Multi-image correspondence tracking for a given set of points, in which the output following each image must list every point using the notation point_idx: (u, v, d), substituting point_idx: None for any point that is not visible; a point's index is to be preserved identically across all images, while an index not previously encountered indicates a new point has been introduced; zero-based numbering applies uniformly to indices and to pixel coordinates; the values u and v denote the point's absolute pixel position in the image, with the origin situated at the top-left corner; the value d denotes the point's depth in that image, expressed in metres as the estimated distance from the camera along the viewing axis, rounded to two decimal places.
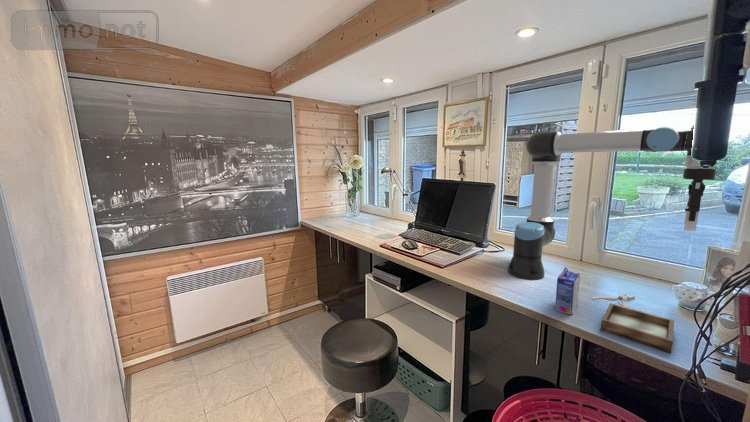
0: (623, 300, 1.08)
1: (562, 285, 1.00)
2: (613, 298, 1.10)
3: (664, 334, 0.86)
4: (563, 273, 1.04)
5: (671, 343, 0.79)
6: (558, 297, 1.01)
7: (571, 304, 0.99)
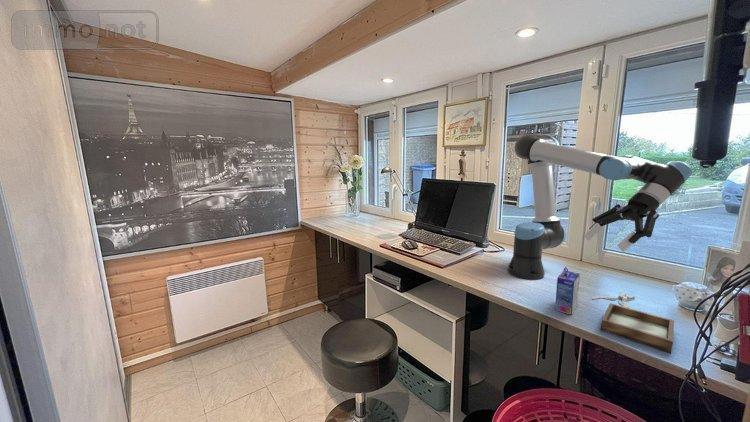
0: (623, 300, 1.08)
1: (562, 285, 1.00)
2: (613, 298, 1.10)
3: (664, 334, 0.86)
4: (563, 273, 1.04)
5: (671, 343, 0.79)
6: (558, 297, 1.01)
7: (571, 304, 0.99)
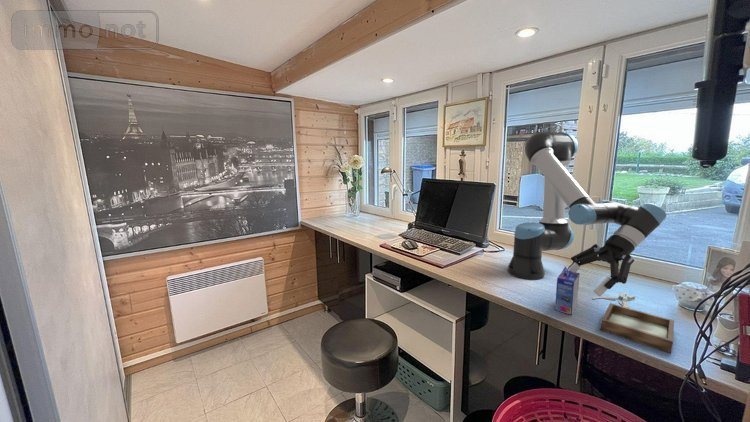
0: (623, 300, 1.08)
1: (562, 285, 0.99)
2: (613, 298, 1.10)
3: (664, 334, 0.86)
4: (563, 273, 1.04)
5: (671, 343, 0.79)
6: (558, 297, 1.01)
7: (571, 304, 0.98)
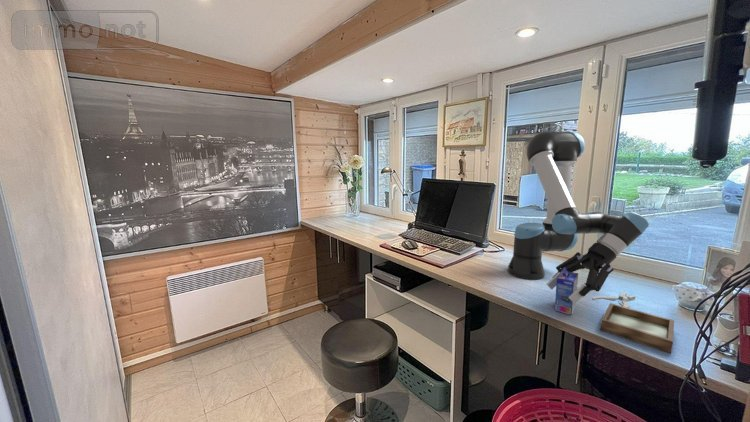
0: (623, 300, 1.08)
1: (562, 285, 0.99)
2: (613, 298, 1.10)
3: (664, 334, 0.86)
4: (562, 273, 1.04)
5: (671, 343, 0.79)
6: (557, 297, 1.01)
7: (571, 304, 0.98)
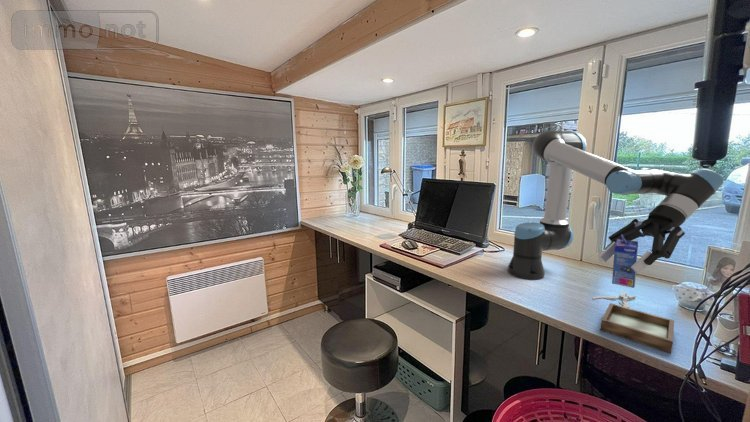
0: (624, 300, 1.08)
1: (622, 253, 0.86)
2: (614, 298, 1.11)
3: (664, 334, 0.86)
4: (619, 241, 0.90)
5: (671, 343, 0.79)
6: (616, 268, 0.87)
7: (633, 275, 0.85)
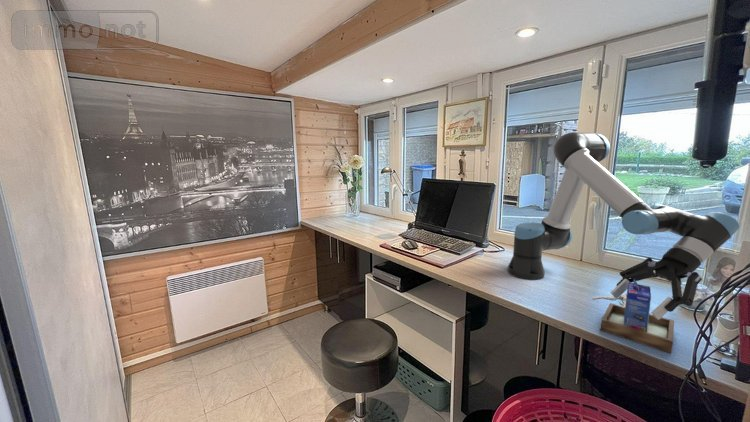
0: (624, 300, 1.08)
1: (635, 301, 0.85)
2: (614, 298, 1.11)
3: (664, 334, 0.86)
4: (631, 286, 0.90)
5: (671, 343, 0.79)
6: (628, 315, 0.87)
7: (646, 323, 0.84)
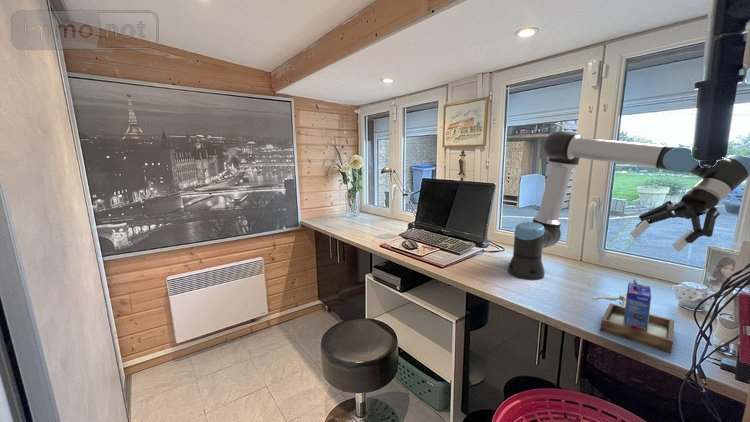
0: (624, 300, 1.08)
1: (635, 301, 0.85)
2: (614, 298, 1.11)
3: (664, 334, 0.86)
4: (631, 286, 0.90)
5: (671, 343, 0.79)
6: (628, 315, 0.87)
7: (646, 323, 0.84)
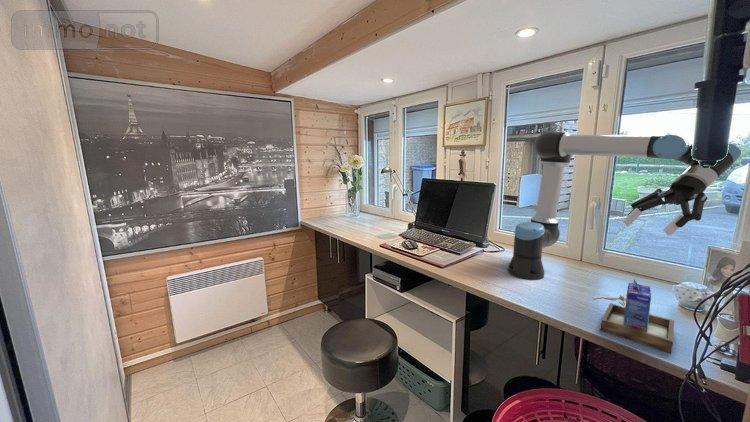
0: (624, 300, 1.08)
1: (635, 301, 0.85)
2: (614, 298, 1.11)
3: (664, 334, 0.86)
4: (631, 286, 0.90)
5: (671, 343, 0.79)
6: (628, 315, 0.87)
7: (646, 323, 0.84)
